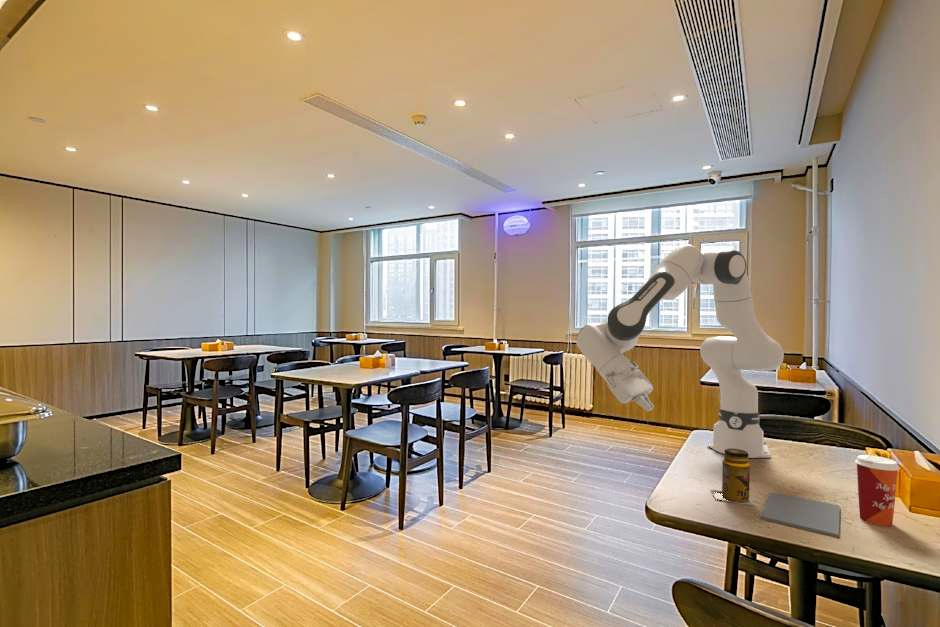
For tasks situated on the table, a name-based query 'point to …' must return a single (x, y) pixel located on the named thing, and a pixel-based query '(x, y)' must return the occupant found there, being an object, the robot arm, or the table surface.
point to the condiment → (735, 477)
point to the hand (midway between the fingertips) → (651, 409)
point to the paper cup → (876, 489)
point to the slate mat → (802, 513)
